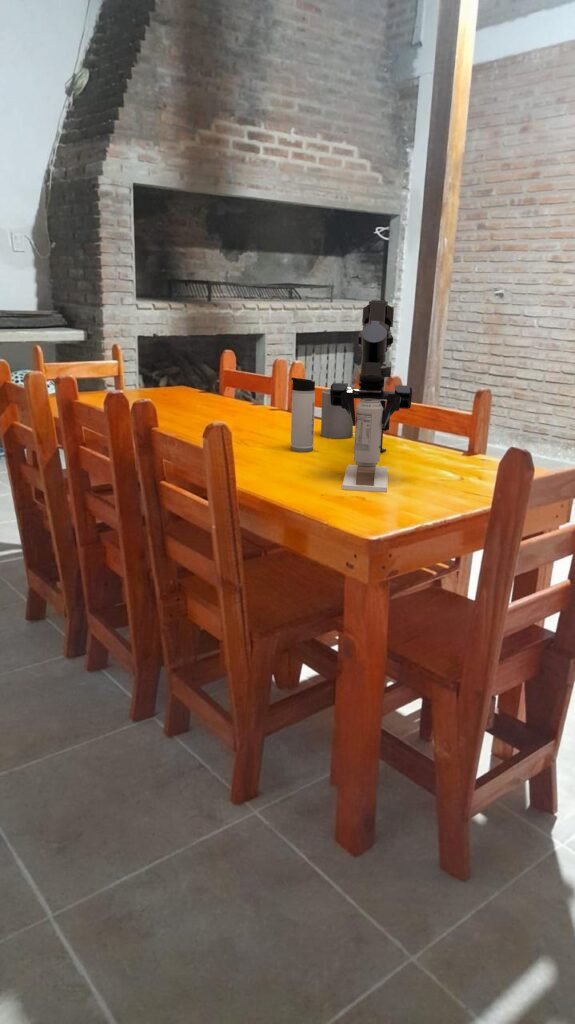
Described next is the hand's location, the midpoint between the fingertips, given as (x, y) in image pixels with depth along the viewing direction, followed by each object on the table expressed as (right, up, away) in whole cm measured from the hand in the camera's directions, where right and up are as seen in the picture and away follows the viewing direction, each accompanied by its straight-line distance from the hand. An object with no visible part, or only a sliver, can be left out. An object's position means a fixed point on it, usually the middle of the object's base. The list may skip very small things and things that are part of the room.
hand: (368, 425), depth 164 cm
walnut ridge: (0, -12, +7) cm, 14 cm away
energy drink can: (0, -9, +4) cm, 10 cm away
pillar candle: (-4, +3, +57) cm, 57 cm away
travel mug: (-15, -3, +37) cm, 39 cm away
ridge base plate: (0, -12, +7) cm, 14 cm away
